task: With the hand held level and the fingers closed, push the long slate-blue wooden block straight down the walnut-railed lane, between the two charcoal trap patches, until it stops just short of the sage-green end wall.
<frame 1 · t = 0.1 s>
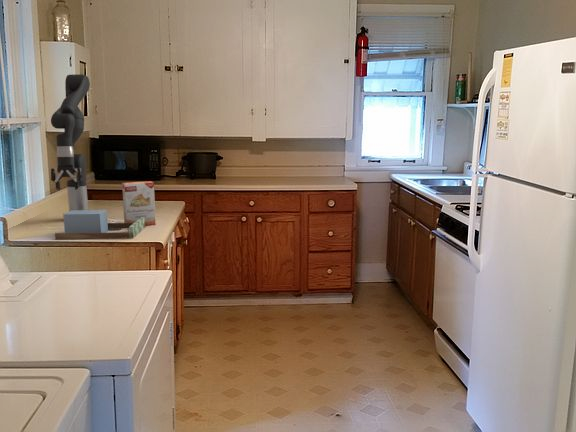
hand: (67, 189, 268), 17 cm above the table, tool pointing down, fingers open, 8 cm apart
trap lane: (102, 233, 251), on the table
cracker box: (140, 225, 268), on the table
slate block: (87, 233, 251), on the table
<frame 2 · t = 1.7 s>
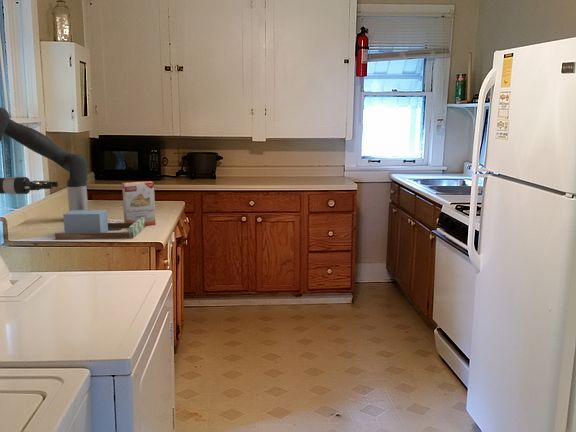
hand: (54, 185, 247), 22 cm above the table, tool horizontal, fingers open, 6 cm apart
nothing on the table moved.
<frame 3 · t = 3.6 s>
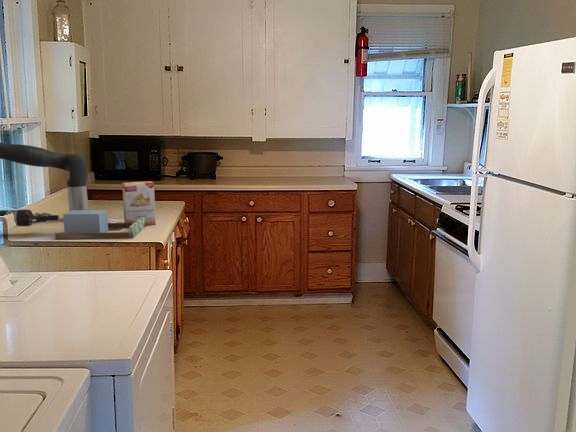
hand: (58, 217, 249), 7 cm above the table, tool horizontal, fingers closed
nothing on the table moved.
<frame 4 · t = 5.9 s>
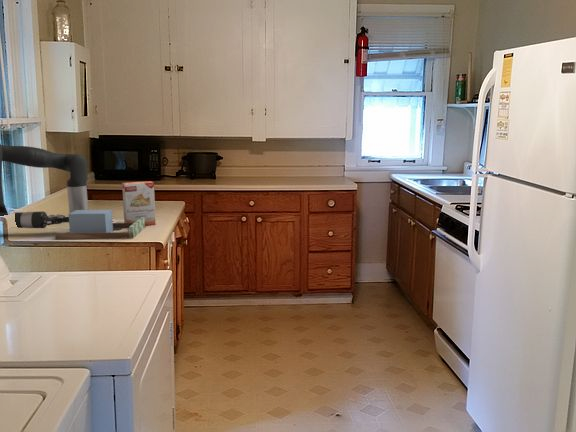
hand: (72, 219, 250), 7 cm above the table, tool horizontal, fingers closed
slate block: (92, 233, 252), on the table, touching gripper
everything else where it was.
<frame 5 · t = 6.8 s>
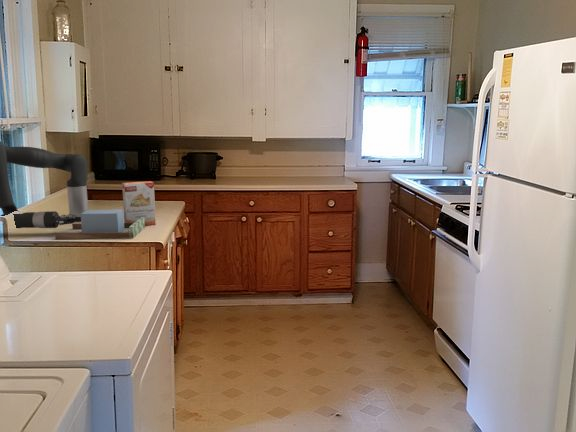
hand: (84, 219, 250), 7 cm above the table, tool horizontal, fingers closed
slate block: (103, 233, 252), on the table, touching gripper
everything else where it was.
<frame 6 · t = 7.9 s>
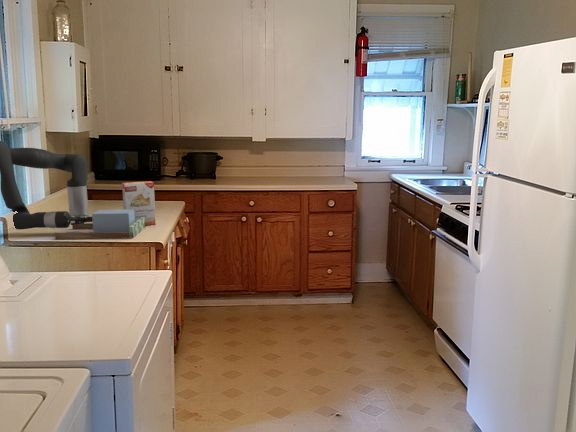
hand: (95, 219, 250), 7 cm above the table, tool horizontal, fingers closed
slate block: (114, 233, 252), on the table
everything else where it was.
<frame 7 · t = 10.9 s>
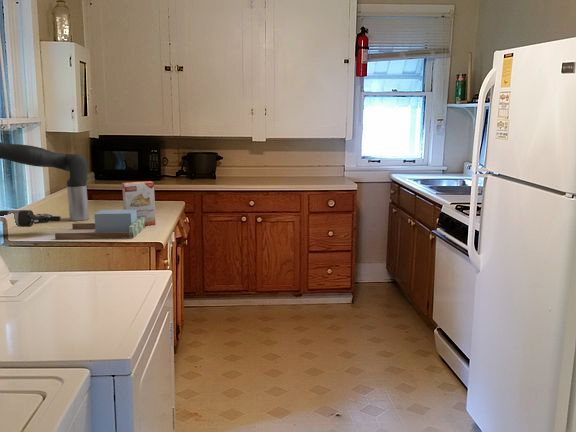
hand: (60, 218, 250), 7 cm above the table, tool horizontal, fingers closed
slate block: (117, 233, 252), on the table
everything else where it was.
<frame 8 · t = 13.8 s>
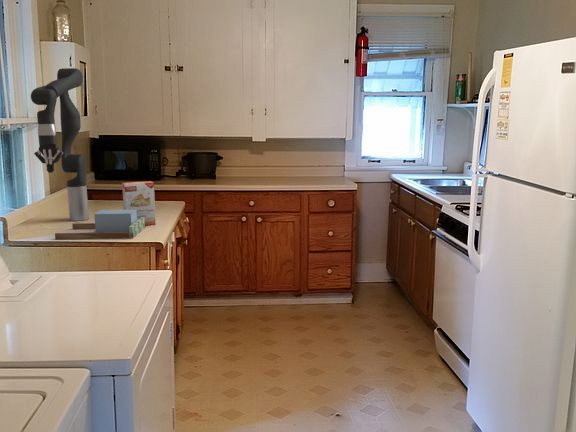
hand: (50, 172, 254), 27 cm above the table, tool pointing down, fingers closed
nothing on the table moved.
at the end: slate block inside the target area (0.3 cm from its centre), on the table; slate block tilted 0°; cracker box moved 0.2 cm from its start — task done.
